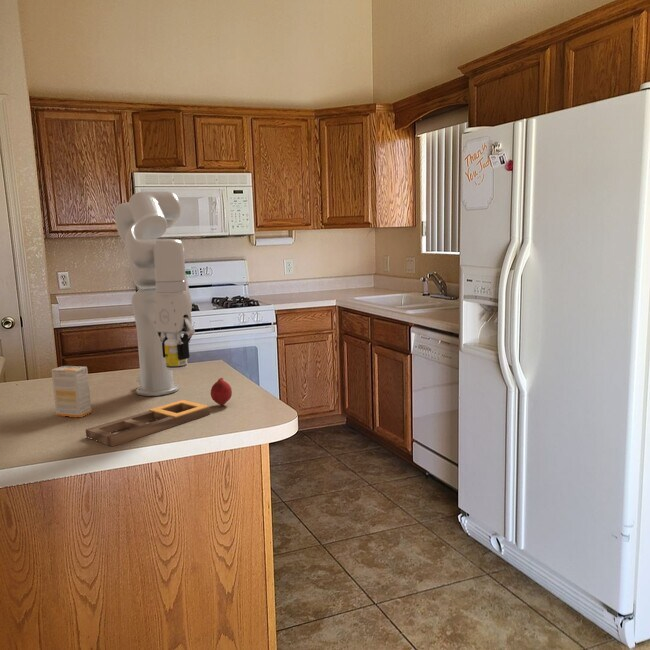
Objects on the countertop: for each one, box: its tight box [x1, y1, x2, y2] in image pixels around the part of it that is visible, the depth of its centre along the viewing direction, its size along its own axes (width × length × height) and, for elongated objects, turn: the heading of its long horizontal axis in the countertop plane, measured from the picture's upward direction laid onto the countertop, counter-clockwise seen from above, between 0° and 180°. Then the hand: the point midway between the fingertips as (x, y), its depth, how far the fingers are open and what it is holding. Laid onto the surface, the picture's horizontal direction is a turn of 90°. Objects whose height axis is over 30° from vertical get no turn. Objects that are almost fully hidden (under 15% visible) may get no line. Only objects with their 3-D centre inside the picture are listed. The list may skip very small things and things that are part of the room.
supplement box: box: [51, 365, 92, 418], centre depth 162 cm, size 8×5×13 cm, turn 71°
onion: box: [210, 377, 233, 406], centre depth 166 cm, size 6×6×8 cm
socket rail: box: [85, 399, 211, 447], centre depth 151 cm, size 11×29×2 cm, turn 142°
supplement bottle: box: [164, 331, 188, 371], centre depth 155 cm, size 5×5×10 cm
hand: (176, 357), depth 155 cm, fingers closed on supplement bottle, 5 cm apart
